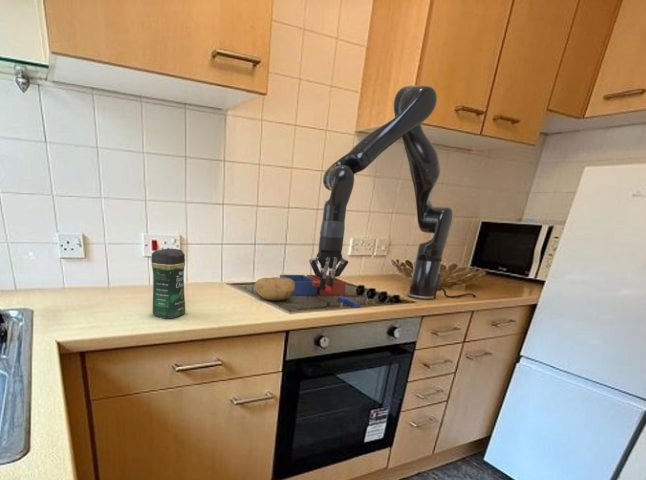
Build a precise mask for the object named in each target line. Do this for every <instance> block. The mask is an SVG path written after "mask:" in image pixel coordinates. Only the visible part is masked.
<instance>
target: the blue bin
mask: <svg viewBox="0 0 646 480" xmlns="http://www.w3.org/2000/svg"><path fill="white" fill-rule="evenodd" d="M279 278H289V279H292V280H293V281H294V282H295V285H296V286H295V291H294V292H293V294H292V296H317V295H318V294H317V288H318V286H313V285H312V281H315V280H313V279H311V278H309V277H307V275H305V274H279Z"/></svg>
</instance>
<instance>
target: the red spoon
mask: <svg viewBox="0 0 646 480" xmlns="http://www.w3.org/2000/svg"><path fill="white" fill-rule="evenodd" d="M319 284H320V281H312V285H313V286H318V287H319ZM325 291H331V287H330V286H328V285H325Z"/></svg>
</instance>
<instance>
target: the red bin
mask: <svg viewBox="0 0 646 480" xmlns="http://www.w3.org/2000/svg"><path fill="white" fill-rule="evenodd" d="M306 276H307V277H309V278H311V279H313V280H315V281H320V277H318V276H316V275H315V274H306ZM327 278H329V276H328V274H326V278H325V279H326V285H327ZM346 286H347V282H346V281H344V280H342V279H340V278H338V277H335V278H334V280H333V287H332V288H331V291H325V290H322V289H321V288H320V287H318V288H317V295H319V296H345V292H346Z"/></svg>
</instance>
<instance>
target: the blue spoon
mask: <svg viewBox="0 0 646 480" xmlns="http://www.w3.org/2000/svg"><path fill="white" fill-rule="evenodd" d="M337 301H338V302H339V303H344V304H347V305H349V306H350V307H353V308H359V305H360V303H359V302H357V301H355V300H353V299H351V298H350V297H348V296H338V299H337Z"/></svg>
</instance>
